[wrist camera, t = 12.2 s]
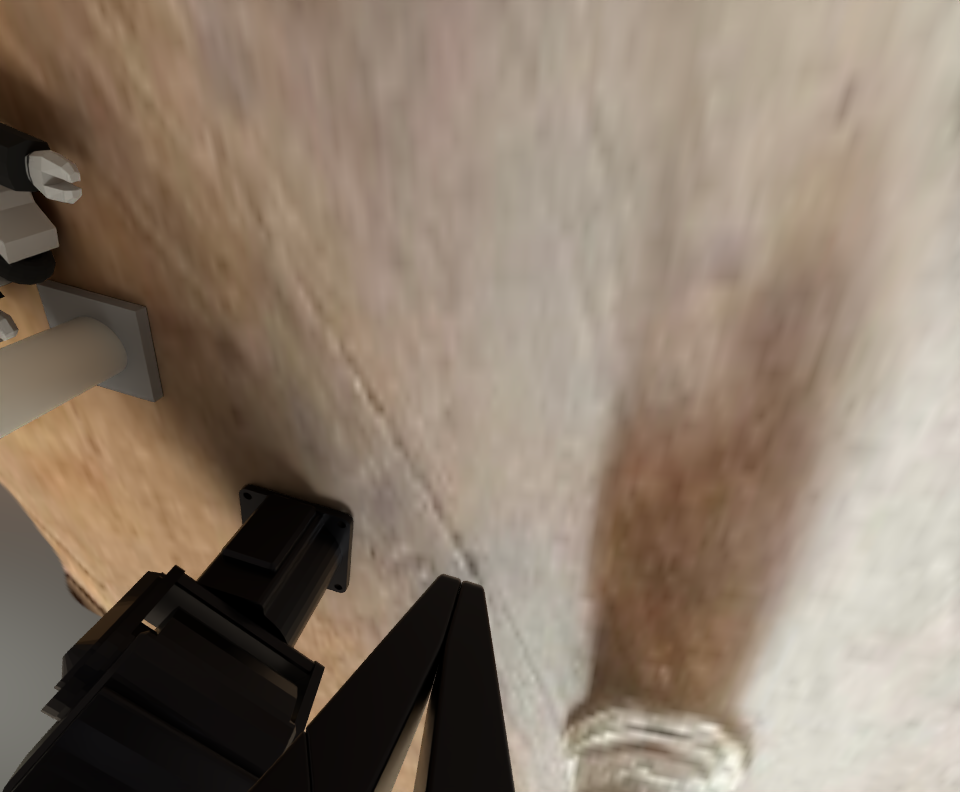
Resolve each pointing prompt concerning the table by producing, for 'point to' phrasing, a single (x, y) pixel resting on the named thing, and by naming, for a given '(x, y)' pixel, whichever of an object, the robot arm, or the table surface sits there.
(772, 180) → the table surface
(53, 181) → the robot toy
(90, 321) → the pair of white pegs
